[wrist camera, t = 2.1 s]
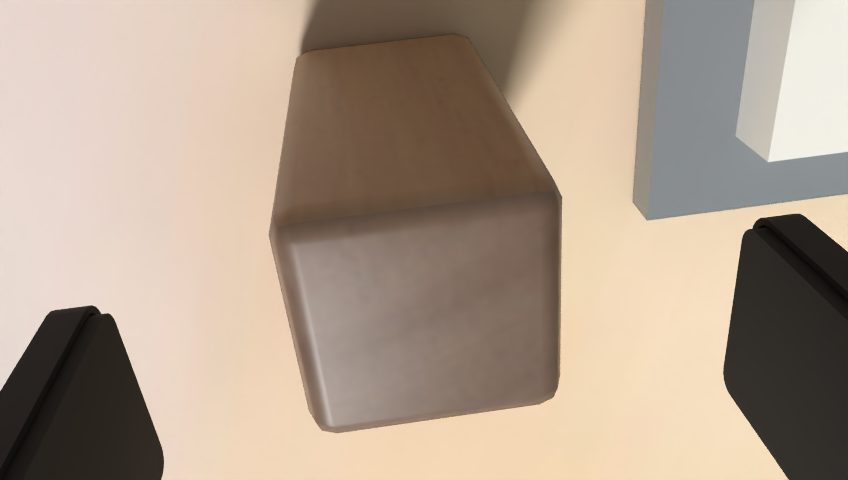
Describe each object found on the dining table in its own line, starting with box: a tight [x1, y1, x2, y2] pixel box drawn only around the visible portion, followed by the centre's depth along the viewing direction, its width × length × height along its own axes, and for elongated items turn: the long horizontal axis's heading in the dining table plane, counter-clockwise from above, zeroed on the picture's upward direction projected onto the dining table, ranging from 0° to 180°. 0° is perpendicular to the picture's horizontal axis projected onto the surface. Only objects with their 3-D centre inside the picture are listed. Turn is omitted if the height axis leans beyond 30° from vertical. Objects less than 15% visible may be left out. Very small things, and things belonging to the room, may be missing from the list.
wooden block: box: [269, 34, 562, 433], centre depth 14 cm, size 4×4×8 cm
